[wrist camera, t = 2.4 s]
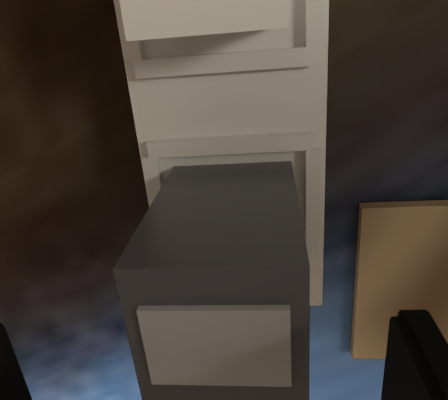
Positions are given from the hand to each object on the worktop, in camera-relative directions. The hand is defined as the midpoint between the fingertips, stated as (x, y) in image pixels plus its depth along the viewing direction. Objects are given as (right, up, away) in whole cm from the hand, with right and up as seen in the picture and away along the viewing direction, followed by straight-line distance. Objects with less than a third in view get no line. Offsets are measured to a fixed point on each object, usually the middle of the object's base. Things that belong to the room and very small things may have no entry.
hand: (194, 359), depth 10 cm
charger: (+1, +3, +7) cm, 7 cm away
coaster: (+12, 0, +10) cm, 16 cm away
